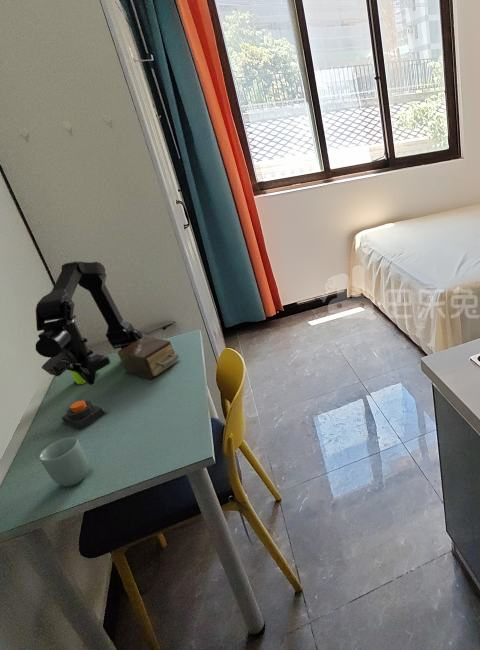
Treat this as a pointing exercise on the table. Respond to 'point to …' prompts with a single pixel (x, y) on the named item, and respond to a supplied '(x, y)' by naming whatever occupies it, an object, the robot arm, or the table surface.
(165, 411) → the table surface
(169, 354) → the drawer
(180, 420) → the table surface
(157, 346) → the cabinet
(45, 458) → the cup
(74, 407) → the button
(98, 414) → the control block
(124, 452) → the table surface
